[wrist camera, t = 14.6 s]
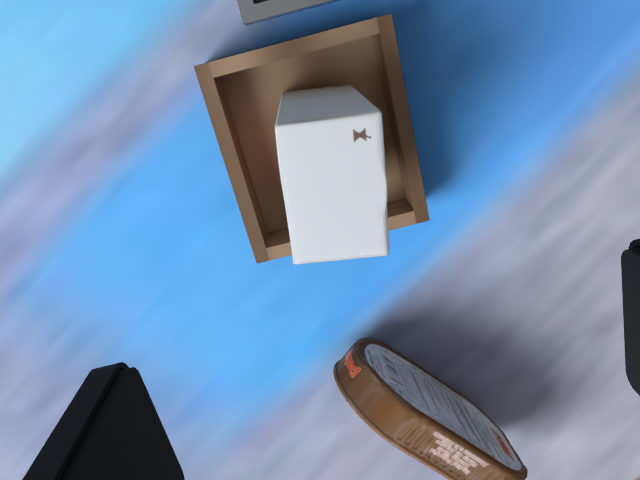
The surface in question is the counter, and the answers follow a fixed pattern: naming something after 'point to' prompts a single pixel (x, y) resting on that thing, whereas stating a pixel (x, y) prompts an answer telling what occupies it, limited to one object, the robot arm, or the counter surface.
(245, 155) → the tray
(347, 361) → the tin
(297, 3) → the slot holder
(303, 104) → the skincare box
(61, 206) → the counter surface
